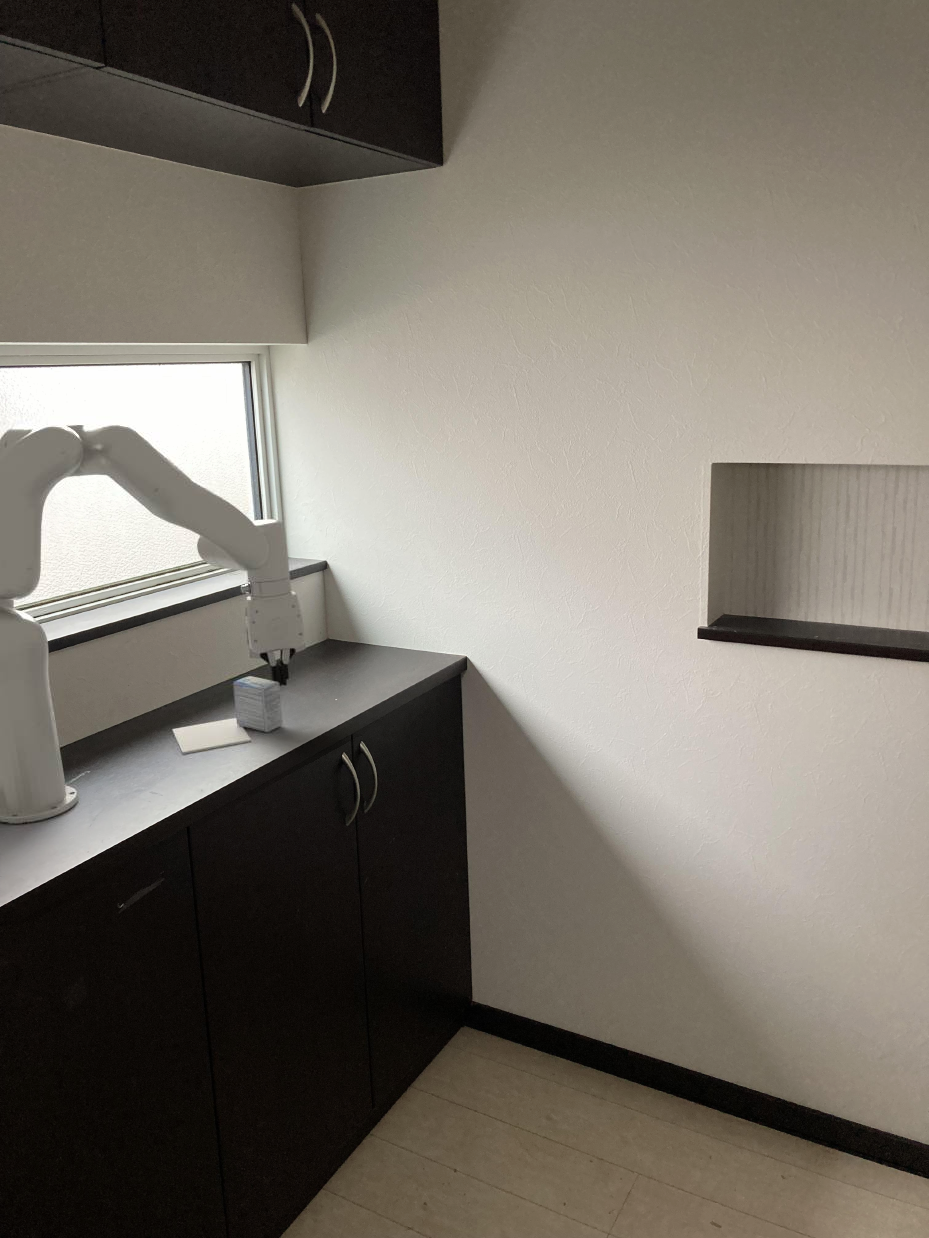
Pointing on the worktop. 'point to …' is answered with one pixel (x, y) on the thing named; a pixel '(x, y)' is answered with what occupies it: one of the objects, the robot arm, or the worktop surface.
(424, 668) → the worktop surface
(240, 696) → the medicine box
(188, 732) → the mat
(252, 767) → the worktop surface
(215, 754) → the worktop surface
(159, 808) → the worktop surface
